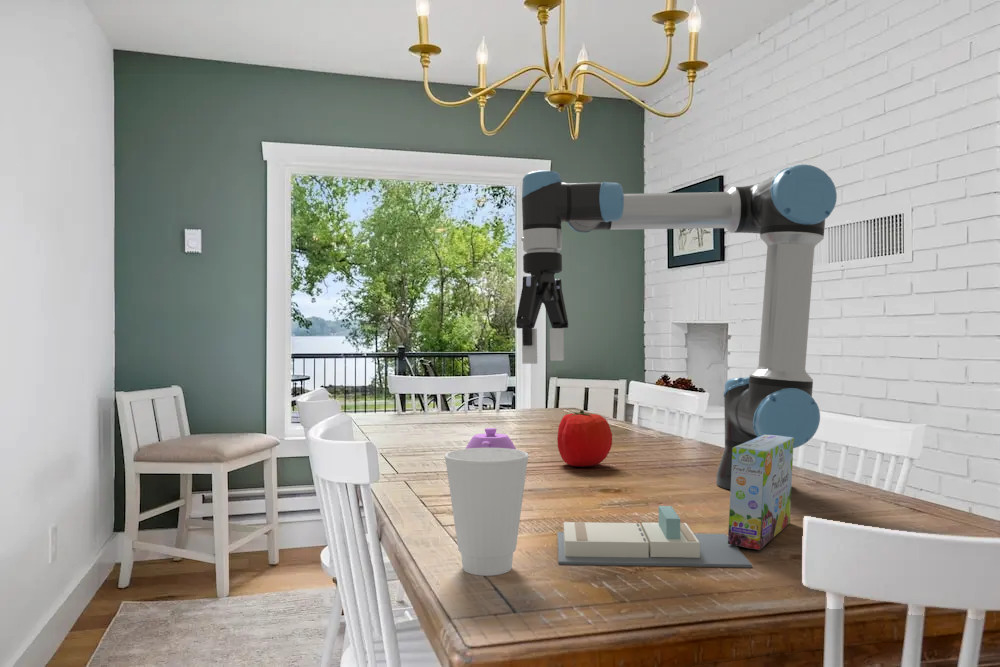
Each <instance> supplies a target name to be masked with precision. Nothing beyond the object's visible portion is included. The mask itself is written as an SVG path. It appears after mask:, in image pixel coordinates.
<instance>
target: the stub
mask: <svg viewBox="0 0 1000 667" xmlns="http://www.w3.org/2000/svg"><path fill="white" fill-rule="evenodd" d="M640 525H641V527H642V530H643V532H644V534H645V536H646V538H647V540H648V548H649V554H650V557H684V558H700V542H699V541H698V539H697V538H696V536H695V535H694V534H693V533H694V532H693V531H692V530H691V528H690V526H689V525H688V524H687V522H681V518H680V516H679V515H678V513H677V512H676V510H675V509H674V507H673V506H672V505H658V522H641V523H640Z"/></svg>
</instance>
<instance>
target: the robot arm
mask: <svg viewBox="0 0 1000 667" xmlns="http://www.w3.org/2000/svg"><path fill="white" fill-rule="evenodd" d="M521 190H522V191H521V192H522V194H521V208H522V210H521V211H522V237H521V242H522V250H523V251H524V252H525V253H524V254H523V255H522V266H523V267H522V268H523V270H522V271H523V272H524V274H526V275H523V276H522V288H521V294H520V299H519V303H518V308H517V313H516V317H515V318H516V319H515V324H516V328H517V329H521V346H522V347H521V353H522V359H521V360H522V361H521V362H522V364H524V365H525V364H527V365H530V364H532V365H534V364H536V365H537V364H538V329H537V328H535V327H536V326H535V325H536V322H537V321H538V320H537V319H538V317H539V314H540V312H541V311H540V310H541V308H542V304H543V305H544V308H545V310H546V311H545V312H546V313H547V317H548V320H549V322H550V326H551V328H549V348H550V349H549V356H550V357H549V358H550V360H549V361H551V362H552V361H556V362H557V361H558V362H559V361H561V362H562V361H565V341H564V340H565V337H564V336H565V334H564V330H565V329H568V328H569V319H568V315H567V310H566V304H565V299H564V298H565V297H564V293H563V288H562V279H560V278H555V274H559V273H561V272H562V271H563V256H562V255H563V254H561V252H560V251H562V250H563V243H562V242H563V240H562V239H563V237H562V236H563V234H562V231H563V230H562V223H564V222H565V223H566V224H567V225H568V227H569V228H570V229H572V230H573V231H574V232H577V233H581V234H582V233H583V234H584V233H590V232H592V231H611V230H612V231H613V230H621V231H622V230H672V229H673V230H674V229H675V230H677V229H678V230H681V229H682V230H683V229H684V230H685V229H686V230H687V229H691V230H692V229H726V230H727V231H728V232H729V233H731V234H734V233H735V234H736V233H737V234H738V233H739V234H741V233H742V234H743V233H744V234H759V238H760V239H761V240H762V241H763V242H764V243H765V244H766V246H767V247H766V248H767V249H766V259H765V260H766V263H765V273H764V274H765V277H764V285H763V286H764V287H763V288H764V289H763V302H762V315H761V325H760V340H759V342H760V343H759V355H758V366H757V367H756V369H754V370H753V372H751V373H750V374H749V376H745V377H733V378H729V379H727V380H726V381H725V384H724V392H723V398H724V399H723V400H724V401H723V402H724V449H723V450H724V451H723V453H722V456H721V460H720V462H719V466H718V468H717V471H716V475H715V476H716V485H717V486H718V487H720V488H723V489H727V490H730V491H731V471H732V448H733V447H735V446H738V445H740V444H743V443H745V442H748V441H750V440H753V439H755V438H757V437H760V436H762V435H777V436H784V437H793V438H794V444H793V449H796V448H800V447H801V446H804V445H805V444H806V443H808V441H811V439H812V438H813V437H814V436H815V435H816V433H817V431H818V430H819V426H820V421H821V412H820V409H819V406H818V403H817V402H816V400H815V399H814V398H813V385H814V380H813V378H812V377H811V376H810V375H809V374H808V373H807V370H806V364H807V351H808V350H807V349H808V334H809V324H810V309H811V297H812V286H813V285H812V283H813V271H814V258H815V256H814V255H815V248H816V247H817V245H818V244H819V243H821V242H822V241H823V240H824V239H825V238H824V237H825V230H826V229H825V226H826V219H828V217H829V216H830V215H831V214H832V213H833V210H834V209H835V208H836V203H837V198H838V196H837V194H838V193H837V189H836V186H835V184H834V182H833V179H832V178H831V177H830V176H829V175H828V174H827V173H826V172H825V171H824V170H823V169H821V168H819V167H817V166H815V165H810V164H797V165H793V166H790V167H786V168H784V169H782V170H780V171H779V172H777V173H776V174H775V175H773V176H771V177H769V178H767V179H765V180H762V181H761V182H757V183H756V184H751V185H746V186H745V185H743V186H732V187H730V188H729V189H728V191H716V192H715V191H712V192H710V191H709V192H707V191H705V192H704V191H703V192H701V191H700V192H699V191H698V192H660V193H659V192H653V193H652V192H651V193H650V192H649V193H647V192H646V193H624V188H623V186H622V185H621V183H620V182H619V183H618V182H610V181H602V182H601V181H600V182H563V181H562V179H561V174H560V173H559V172H557V171H553V170H550V171H549V170H537V171H536V170H534V171H530V172H528V173H526V174H525V175H524V176H523V178H522V188H521ZM528 274H529V275H528Z"/></svg>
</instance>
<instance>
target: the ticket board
mask: <svg viewBox="0 0 1000 667" xmlns="http://www.w3.org/2000/svg"><path fill="white" fill-rule="evenodd" d="M556 532H557V533H556V534H557V535H556V536H557V560H558V563H557V564H558V565H571V566H572V565H573V566H574V565H575V566H576V565H579V566H581V565H582V566H634V567H635V566H636V567H637V566H640V567H641V566H642V567H643V566H645V567H647V566H649V567H695V568H696V567H700V568H703V567H704V568H706V567H707V568H708V567H709V568H716V567H717V568H752V567H753V564H752V563H751V562H750V561H749V559H748V558H747V557H746V556H745V555H744V553H743V552H742V551H741V550H740V549H739V547H738V546H735V545H731V544H728V535H727V534H726V533H701V532H700V533H694V532H693V534H694V535H695V536H696V538H697V539H698V541H699V542H700V558H684V557H650V554H649V548H648V540H647V538H646V536H645V534H644V532H643V530H642V527H641V523H639V522H593V521H592V522H590V521H589V522H586V521H585V522H583V521H582V522H581V521H580V522H579V521H576V522H575V521H574V522H573V521H572V522H571V521H570V522H569V521H568V522H567V521H563V531H556Z"/></svg>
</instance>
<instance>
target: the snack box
mask: <svg viewBox="0 0 1000 667" xmlns="http://www.w3.org/2000/svg"><path fill="white" fill-rule="evenodd" d="M793 444H794V438H793V437H784V436H777V435H762V436H760V437H757V438H755V439H753V440H750V441H748V442H745V443H743V444H740V445H738V446H735V447H733V448H732V471H731V490H730V491H729V492H730V494H729V513H728V514H729V516H728V532H727V534H728V535H727V536H728V544H731V545H735V546H736V547H741V548H747V549H750V550H751V549H752V550H757V551H761V550H762V549H763V548H764V547H765V546H767V544H768V543H770V542H771V540H773V539H774V538H775V537H776V536H777V535H778V534H779V533H780V532H782V531H783V530H784V529H785V528H786V527H787V526H788V525H789V524H790V523H791V507H792V506H791V504H792V482H793V481H792V480H793V479H792V478H793V460H794V448H793Z"/></svg>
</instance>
